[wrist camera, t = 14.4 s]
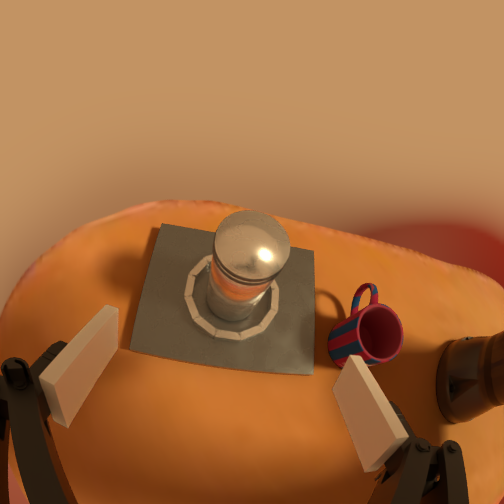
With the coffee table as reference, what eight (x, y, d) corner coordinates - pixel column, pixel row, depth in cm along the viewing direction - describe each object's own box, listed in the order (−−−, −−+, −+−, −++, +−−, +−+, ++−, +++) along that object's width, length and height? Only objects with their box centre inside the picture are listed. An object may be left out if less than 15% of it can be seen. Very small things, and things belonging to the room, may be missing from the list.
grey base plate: (309, 256, 37) (317, 246, 35) (308, 375, 29) (317, 373, 26) (162, 229, 34) (161, 217, 32) (132, 351, 26) (126, 347, 24)
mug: (324, 367, 30) (354, 359, 24) (331, 293, 35) (357, 270, 29) (369, 372, 30) (403, 364, 24) (372, 303, 35) (401, 283, 30)
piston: (267, 298, 31) (305, 245, 21) (231, 332, 28) (255, 293, 18) (231, 264, 32) (251, 198, 22) (194, 294, 29) (197, 236, 19)
